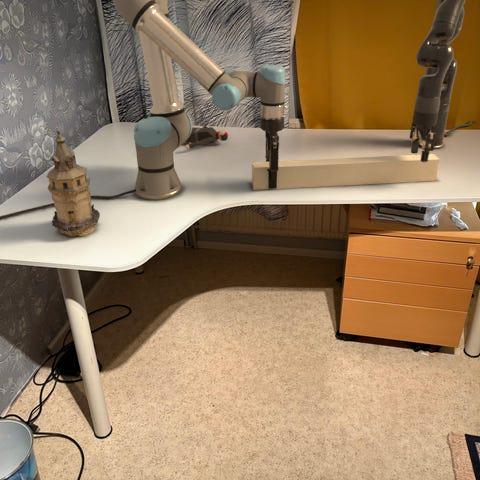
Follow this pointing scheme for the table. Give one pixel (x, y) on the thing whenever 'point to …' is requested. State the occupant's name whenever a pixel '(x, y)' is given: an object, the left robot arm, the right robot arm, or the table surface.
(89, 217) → the miniature building
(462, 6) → the right robot arm
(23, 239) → the table surface
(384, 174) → the beam
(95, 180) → the table surface
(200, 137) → the toy
